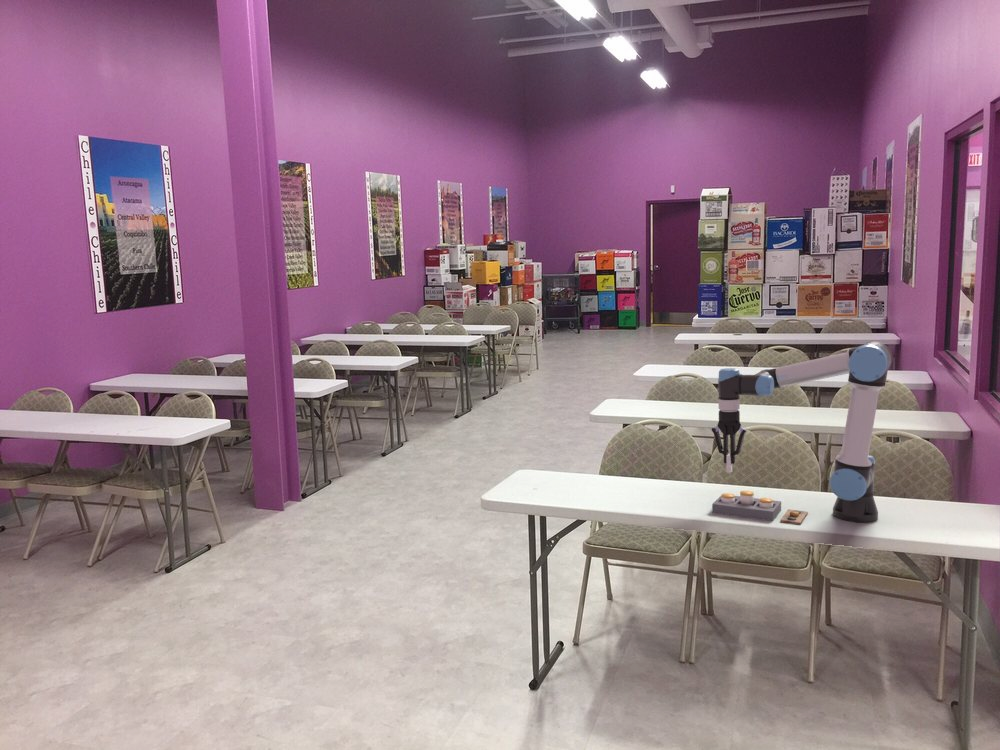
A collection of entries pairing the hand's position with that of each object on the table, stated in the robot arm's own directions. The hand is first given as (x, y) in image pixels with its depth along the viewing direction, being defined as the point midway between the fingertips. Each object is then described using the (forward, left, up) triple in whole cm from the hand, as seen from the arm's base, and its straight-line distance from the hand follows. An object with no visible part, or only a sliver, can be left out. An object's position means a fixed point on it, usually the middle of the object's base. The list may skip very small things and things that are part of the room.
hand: (729, 471), depth 306 cm
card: (-24, 0, -15) cm, 28 cm away
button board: (-7, 0, -15) cm, 16 cm away
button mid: (-7, 0, -12) cm, 13 cm away
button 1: (0, 0, -13) cm, 13 cm away
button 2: (-14, 0, -13) cm, 19 cm away
